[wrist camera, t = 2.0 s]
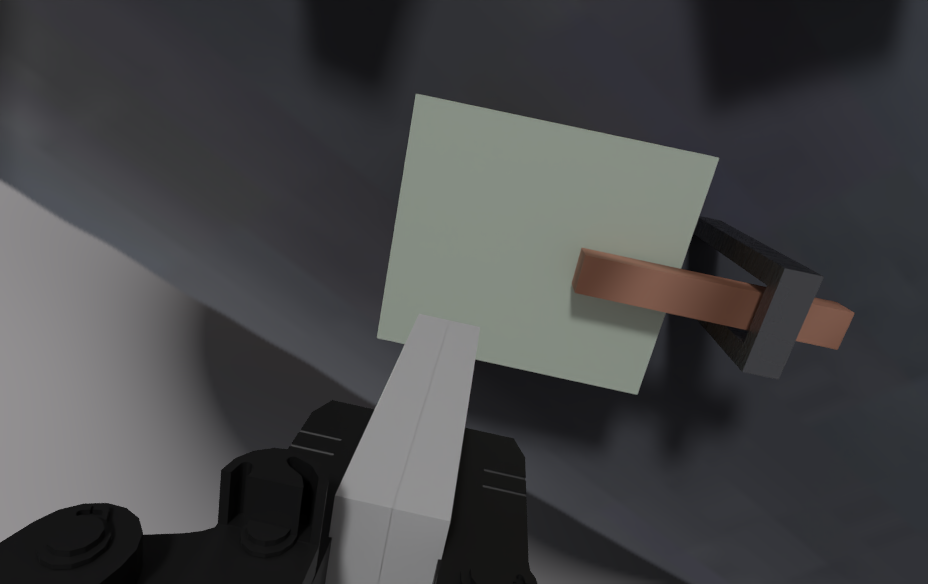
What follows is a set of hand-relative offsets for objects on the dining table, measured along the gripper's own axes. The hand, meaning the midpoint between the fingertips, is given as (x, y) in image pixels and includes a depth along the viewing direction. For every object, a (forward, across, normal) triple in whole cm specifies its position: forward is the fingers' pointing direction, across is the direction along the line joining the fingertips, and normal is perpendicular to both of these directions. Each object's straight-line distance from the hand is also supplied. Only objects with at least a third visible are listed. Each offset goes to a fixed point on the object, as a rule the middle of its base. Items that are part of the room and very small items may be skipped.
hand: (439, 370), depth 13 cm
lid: (+16, +3, 0) cm, 16 cm away
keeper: (+22, +13, 0) cm, 26 cm away
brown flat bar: (+13, +11, 0) cm, 17 cm away
